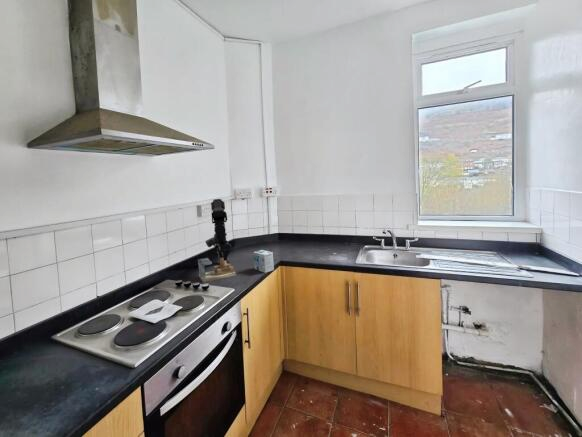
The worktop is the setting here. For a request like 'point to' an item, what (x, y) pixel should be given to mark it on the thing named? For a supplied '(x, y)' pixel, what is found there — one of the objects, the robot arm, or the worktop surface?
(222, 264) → the peg
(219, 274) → the awning socket
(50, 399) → the worktop surface
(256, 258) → the light bulb box
